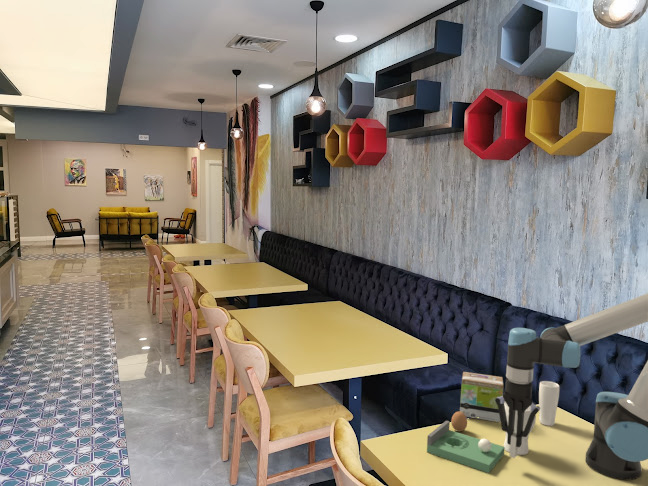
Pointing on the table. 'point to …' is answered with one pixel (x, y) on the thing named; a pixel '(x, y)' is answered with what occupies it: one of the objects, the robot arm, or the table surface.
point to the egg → (459, 421)
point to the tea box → (481, 396)
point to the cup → (524, 446)
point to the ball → (484, 445)
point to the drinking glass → (548, 402)
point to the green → (462, 448)
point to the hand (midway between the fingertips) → (513, 455)
